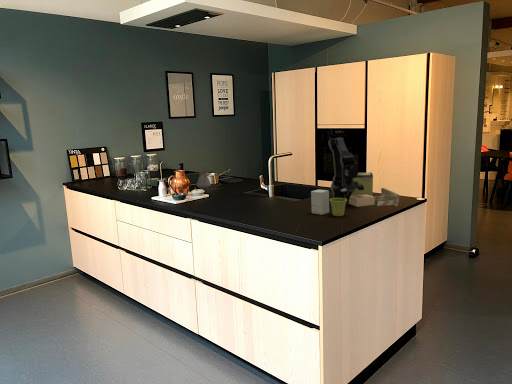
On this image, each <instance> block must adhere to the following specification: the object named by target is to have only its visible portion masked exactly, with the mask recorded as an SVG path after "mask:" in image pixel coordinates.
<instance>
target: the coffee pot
mask: <svg viewBox="0 0 512 384" xmlns="http://www.w3.org/2000/svg"><path fill="white" fill-rule="evenodd" d="M213 172H215V171H214V170H211V171H210V172H208V173H207V171H199V172H198V173H199V177H198V180H197V182H196V187H197V188H198V189H199V190H200V189H201V190H202V189H203V190H204V189H205V190H206V189H209V187H211V186H212V185H211V184H212V183H211V181H210V179H209V177H208V176H209V175H210V174H213Z"/></svg>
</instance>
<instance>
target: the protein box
mask: <svg viewBox="0 0 512 384" xmlns="http://www.w3.org/2000/svg"><path fill="white" fill-rule="evenodd" d="M356 181H358V184H362V185H363V186H364V190H358V189H355V190H354V192H353V193H352V194H351V196H355V195H365V194H367V195H370V196H373V190H374V187H373V186H374V185H373V184H374V175H373V172H358V175H357V177H356V178H353V182H356Z"/></svg>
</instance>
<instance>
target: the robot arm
mask: <svg viewBox="0 0 512 384" xmlns="http://www.w3.org/2000/svg"><path fill="white" fill-rule="evenodd" d="M327 143H328V144H327V145H328V147H329V150H330V151H331V152H332V162H333V171H334V176H333V178H332V181H331V184H330V191H331V192H332V198H345V199H347V201H346V203H349V199H350V196H351V194H352V193H353V192H354V190H355V189H358V190H364V186H363V185H362V184H358V181H356V182H353V178H356V177H357V175H358V173H359V172H358V170H357V169H356V168H355V167H357V162H356V160H355V157H354V156H353V153H352V152H350V151H349V150H348V148H347V146H346V144H345V140H344V137H335V138H330V139H329V140H328V141H327Z"/></svg>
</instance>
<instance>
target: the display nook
mask: <svg viewBox="0 0 512 384" xmlns="http://www.w3.org/2000/svg"><path fill="white" fill-rule="evenodd" d="M380 190H381V191H380V194H381V196H380V195H379V196H374V197H375V202H377V203H376V205H377V207H383V206H385V207H386V206H395V207H399V203H400V201H399V199H400V193H398V192H395V191H393V190H389V189H387V188H385V187H381V188H380Z"/></svg>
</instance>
